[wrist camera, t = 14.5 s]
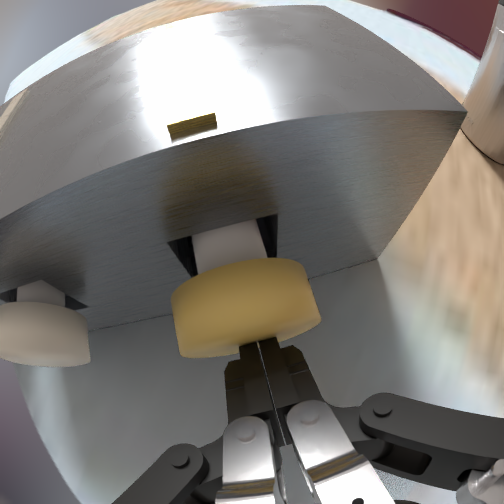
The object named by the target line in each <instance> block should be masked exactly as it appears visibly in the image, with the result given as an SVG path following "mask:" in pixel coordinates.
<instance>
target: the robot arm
mask: <svg viewBox="0 0 504 504" xmlns="http://www.w3.org/2000/svg"><path fill="white" fill-rule="evenodd" d="M462 106H463V107H464V108H465V109H466V110H467V111H468V113H467V115H466V117H465V119H464V121H463V123H462V125H461V129H462V130H463V132H464V133H465V134H466V136H467V137H468V138H469V139H470V140H471V141H472V142H473V143H474V145H475V146H476V147H478V148H479V149H480V150H481V151H482V152H483V153H485V154H486V155H487V156H488V157H490V158H491V159H493V160H494V161H496V162H498V163H500V164H504V0H499V4H498V7H497V11H496V14H495V18H494V22H493V25H492V29H491V32H490V35H489V38H488V41H487V44H486V47H485V50H484V53H483V56H482V59H481V61H480V64H479V67H478V69H477V72H476V74H475V77H474V79H473V82H472V84H471V87H470V89H469V91H468V94H467V96H466V98H465V100H464V102H463V104H462ZM258 342H259V346H260V350H261V354H262V358H263V362H264V365H265V369H266V373H267V376H266V373H265V369H264V366H263V362H262V359H261V355H260V352H259V348H258V345H257V342H255V343H251V344H247V345H243V346H239V353H240V359H239V360H234V361H230V362H228V365H227V367H226V369H225V371H224V375H225V388H226V400H227V411H228V426H227V427H226V429H225V431H224V434H223V435H222V436H221V437H220V438H219V439H218V440H216V441H214V442H213V443H210V444H208V445H206V446H203V447H201V448H197V447H195V446H194V445H191V444H177V445H174V446H172V447H170V448H169V449H168V450H166V451H165V452H164V453H163V454H162V455H161V456H160V458H159V459H158V460H157V461H156V462H155V463H154V464H153V465H152V466H151V467H150V468H149V469H148V470H147V471H146V472H145V473H144V474H143V475H142V476H141V477H140V478H139V479H138V480H136V481H135V482H134V483H133V484H132V485H131V486H130V487H129V488H128V489H127V490H126V491H125V492H124V493H123V494H122V495H121V496H120V497H119V498H117V499H116V500H115V501H114V502H113V503H112V504H288V499H287V493H286V486H285V479H284V473H283V466H282V457H281V453H280V449H279V447H281V446H285V444H284V441H283V437H282V433H281V429H280V426H279V422H278V418H279V421H280V424H281V427H282V431H283V434H284V437H285V440H286V444H287V445H288V444H293V448H294V451H295V454H296V458H297V461H298V464H299V466H300V469H301V471H302V474H303V476H304V478H305V481H306V483H307V486H308V488H309V490H310V493H311V495H312V498H313V500H314V502H315V504H419V503H416V502H412V501H406V500H393V499H392V497H391V496H390V494H389V493H388V491H387V489H386V488H385V486H384V485H383V483H382V481H381V480H380V478H379V477H378V475H377V473H376V472H375V470H374V468H376V469H378V470H381V471H384V472H387V473H390V474H393V475H396V476H399V477H402V478H405V479H409V480H412V481H415V482H419V483H423V484H426V485H430V486H434V487H438V488H443V489H447V490H452V491H457V492H456V500H457V503H458V504H504V418H498V417H491V416H485V415H480V414H474V413H469V412H464V411H459V410H454V409H450V408H445V407H441V406H437V405H432V404H428V403H424V402H420V401H416V400H413V399H409V398H405V397H402V396H398V395H394V394H391V393H378V394H375V395H372V396H370V397H369V398H367V399H366V400H365V401H364V402H363V404H362V405H361V406H358V407H348V408H339V407H334V406H332V405H330V404H328V403H327V402H325V401H324V399H323V398H322V396H321V394H320V392H319V390H318V387H317V385H316V383H315V381H314V378H313V376H312V374H311V372H310V370H309V367H308V365H307V363H306V361H305V359H304V356H303V354H302V352H301V351H300V350H299V349H297V348H296V347H294V346H293V345H291V346H288V347H284V348H281V349H280V346H279V343H278V340H277V338H276V337H273V338H270V339H266V340H262V341H258ZM267 377H268V380H267ZM268 381H269V384H268ZM269 385H270V388H269ZM270 389H271V391H270ZM271 392H272V395H271ZM272 396H273V399H272ZM273 400H274V403H273ZM274 404H275V407H274ZM275 408H276V411H277V414H278V418H277V414H276V411H275Z"/></svg>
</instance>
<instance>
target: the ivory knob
mask: <svg viewBox="0 0 504 504" xmlns="http://www.w3.org/2000/svg"><path fill="white" fill-rule="evenodd" d="M0 358H1V359H4V360H7V361H10V362H14V363H18V364H24V365H30V366H39V367H73V366H80V365H84V364H87V363H89V362H90V361H91V359H90V350H89V340H88V327H87V319H86V318H85V317H84V316H83V315H82V314H80V313H78V312H76V311H74V310H71V309H69V308H65V293H63V292H61V291H60V290H58V289H56V288H55V287H53V286H51V285H50V284H48V283H46V282H45V281H43V280H39V281H36V282H33V283H30V284H27V285H24V286H21V287H18V288H17V302H10V303H6V304H3V305H0Z"/></svg>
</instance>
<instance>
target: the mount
mask: <svg viewBox="0 0 504 504" xmlns="http://www.w3.org/2000/svg"><path fill="white" fill-rule="evenodd" d="M467 113H468V111H467V110H466V109H465V108H464V107H463V106H462V105H461V104H460V103H459V102H458V101H457V100H456V99H455V98H454V97H453V96H452V95H451V94H450V93H449V92H448V91H447V90H446V89H445V88H444V87H443V86H442V85H440V84H439V83H438V82H437V81H436V80H435V79H434V78H433V77H431V76H430V75H429V74H428V73H427V72H426V71H424V70H423V69H422V68H421V67H420V66H418V65H417V64H416V63H415V62H413V61H412V60H411V59H409V58H408V57H407V56H405V55H404V54H403V53H401V52H400V51H399V50H397V49H396V48H395V47H393V46H392V45H390V44H389V43H387V42H386V41H385V40H383V39H382V38H380V37H379V36H377V35H375V34H374V33H372V32H371V31H369V30H368V29H366V28H364V27H363V26H361V25H359V24H358V23H356V22H354V21H352V20H351V19H349V18H347V17H345V16H343V15H342V14H340V13H338V12H336V11H334V10H332V9H330V8H328V7H326V6H318V5H288V6H268V7H255V8H246V9H238V10H230V11H224V12H218V13H212V14H207V15H202V16H197V17H192V18H188V19H184V20H180V21H176V22H172V23H168V24H165V25H161V26H158V27H154V28H151V29H148V30H145V31H142V32H139V33H136V34H133V35H130V36H128V37H125V38H122V39H120V40H117V41H115V42H112V43H110V44H107V45H105V46H103V47H100V48H98V49H96V50H94V51H91V52H89V53H87V54H85V55H83V56H81V57H79V58H77V59H75V60H73V61H71V62H69V63H67V64H65V65H63V66H62V67H60V68H58V69H56V70H54V71H53V72H51V73H49V74H48V75H46V76H44V77H43V78H41V79H39V80H38V81H36V82H35V83H33V84H31V85H30V86H28V87H27V88H25V89H24V90H22V91H21V92H20V93H18V94H17V95H15V96H14V97H12V98H11V99H10V100H8V101H7V102H6V103H4V104H3V105H2V106H0V305H3V304H6V303H10V302H17V288H18V287H21V286H24V285H27V284H30V283H33V282H36V281H39V280H43V281H45V282H46V283H48V284H50V285H51V286H53V287H55V288H56V289H58V290H60V291H61V292H63V293H65V308H69V309H71V310H74V311H76V312H78V313H80V314H82V315H83V316H84V317H85V318H86V319H87V327H88V331H91V330H96V329H101V328H106V327H111V326H116V325H121V324H126V323H131V322H136V321H141V320H145V319H150V318H155V317H159V316H164V315H168V314H172V313H173V312H172V306H171V296H172V294H173V292H174V291H175V290H176V289H177V288H178V287H179V286H180V285H181V284H183V283H184V282H186V281H187V280H189V279H191V278H193V277H195V276H197V275H198V271H197V265H196V260H195V254H194V248H193V242H192V236H191V235H195V234H199V233H202V232H206V231H210V230H214V229H218V228H222V227H225V226H229V225H233V224H237V223H241V222H245V221H249V220H253V219H256V222H257V225H258V228H259V231H260V235H261V238H262V241H263V244H264V248H265V251H266V254H267V258H285V259H290V260H294V261H297V262H299V263H300V264H302V265H303V267H304V269H305V272H306V275H307V278H308V279H310V278H313V277H317V276H320V275H324V274H327V273H331V272H334V271H337V270H341V269H344V268H347V267H351V266H354V265H357V264H361V263H364V262H367V261H370V260H374V259H377V258H378V257H379V256H380V254H381V253H382V252H383V250H384V249H385V247H386V246H387V245H388V243H389V242H390V241H391V239H392V238H393V236H394V235H395V234H396V232H397V231H398V229H399V228H400V226H401V225H402V224H403V222H404V221H405V219H406V218H407V216H408V215H409V213H410V212H411V210H412V209H413V207H414V206H415V204H416V203H417V201H418V200H419V198H420V196H421V195H422V193H423V192H424V190H425V188H426V187H427V185H428V184H429V182H430V180H431V179H432V177H433V175H434V174H435V172H436V170H437V169H438V167H439V165H440V164H441V162H442V160H443V158H444V157H445V155H446V153H447V151H448V149H449V148H450V146H451V144H452V142H453V140H454V138H455V137H456V135H457V133H458V131H459V129H460V127H461V125H462V123H463V121H464V119H465V117H466V115H467Z"/></svg>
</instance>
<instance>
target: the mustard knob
mask: <svg viewBox="0 0 504 504" xmlns="http://www.w3.org/2000/svg"><path fill="white" fill-rule="evenodd" d="M191 236H192V242H193V248H194V254H195V260H196V265H197V271H198V275H197V276H195V277H193V278H191V279H189V280H187V281H186V282H184V283H183V284H181V285H180V286H179V287H178V288H177V289H176V290H175V291H174V292H173V294H172V296H171V306H172V312H173V318H174V324H175V330H176V335H177V341H178V346H179V351H180V355H181V356H183V357H187V358H209V357H218V356H225V355H231V354H236V353H239V346H243V345H247V344H251V343H255V342H257V345H258V348H260V346H259V342H258V341H262V340H266V339H270V338H273V337H276V338H277V340H278V343H279V342H282V341H285V340H287V339H290V338H293V337H295V336H297V335H300V334H302V333H304V332H306V331H308V330H310V329H312V328H314V327H315V326H317V325H318V324H319V323H320V322H321V316H320V313H319V310H318V307H317V304H316V301H315V298H314V295H313V292H312V289H311V286H310V283H309V280H308V278H307V275H306V272H305V269H304V267H303V265H302V264H300V263H299V262H297V261H294V260H290V259H285V258H267V254H266V251H265V248H264V244H263V241H262V238H261V235H260V231H259V228H258V225H257V222H256V219H253V220H249V221H245V222H241V223H237V224H233V225H229V226H225V227H222V228H218V229H214V230H210V231H206V232H202V233H199V234H195V235H191Z"/></svg>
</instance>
